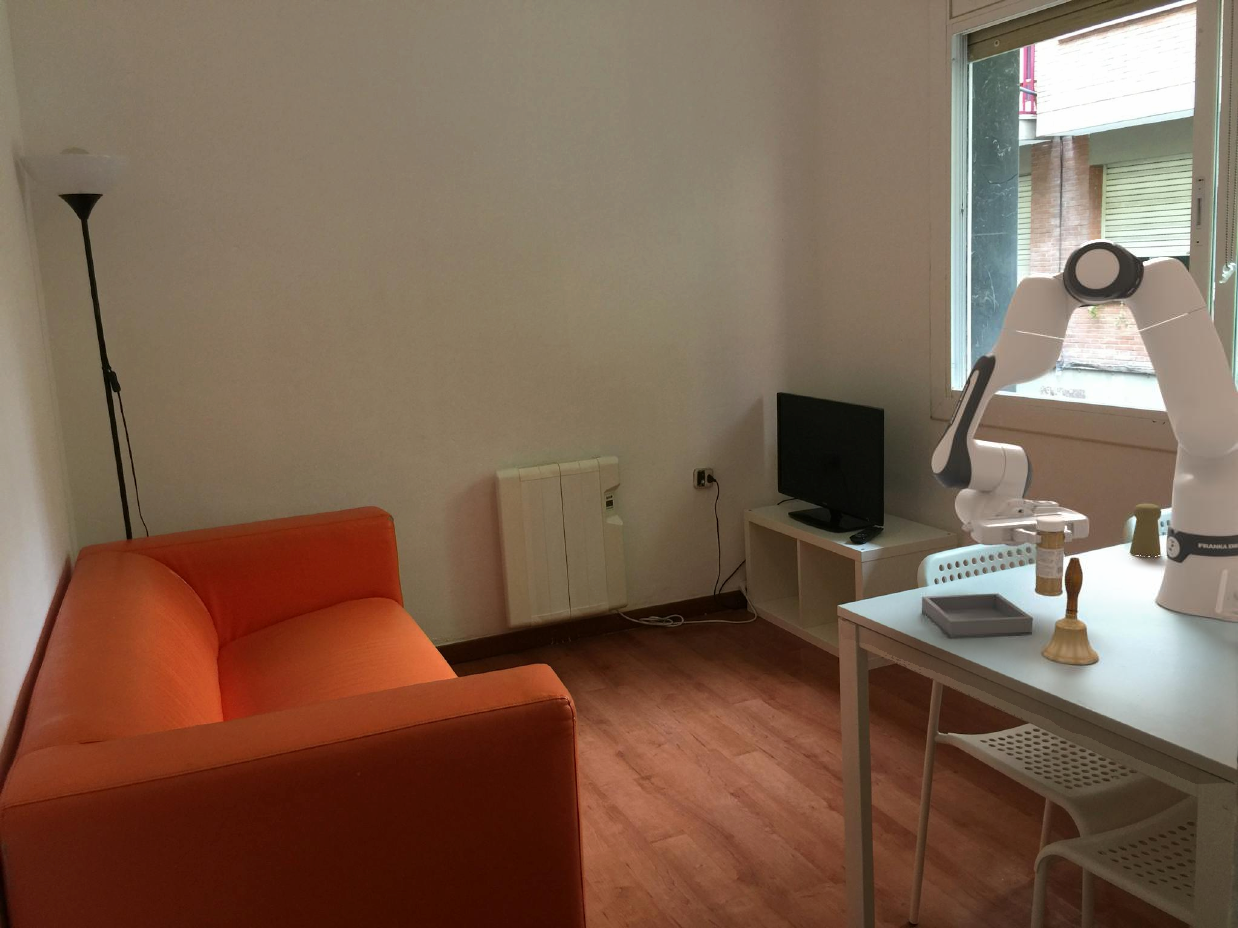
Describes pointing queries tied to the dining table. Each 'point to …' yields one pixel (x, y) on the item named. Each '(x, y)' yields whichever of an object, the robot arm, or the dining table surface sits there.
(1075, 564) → the hand bell
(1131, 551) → the cork
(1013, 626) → the box
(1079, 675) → the dining table surface
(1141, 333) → the robot arm
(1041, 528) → the sprinkles bottle
